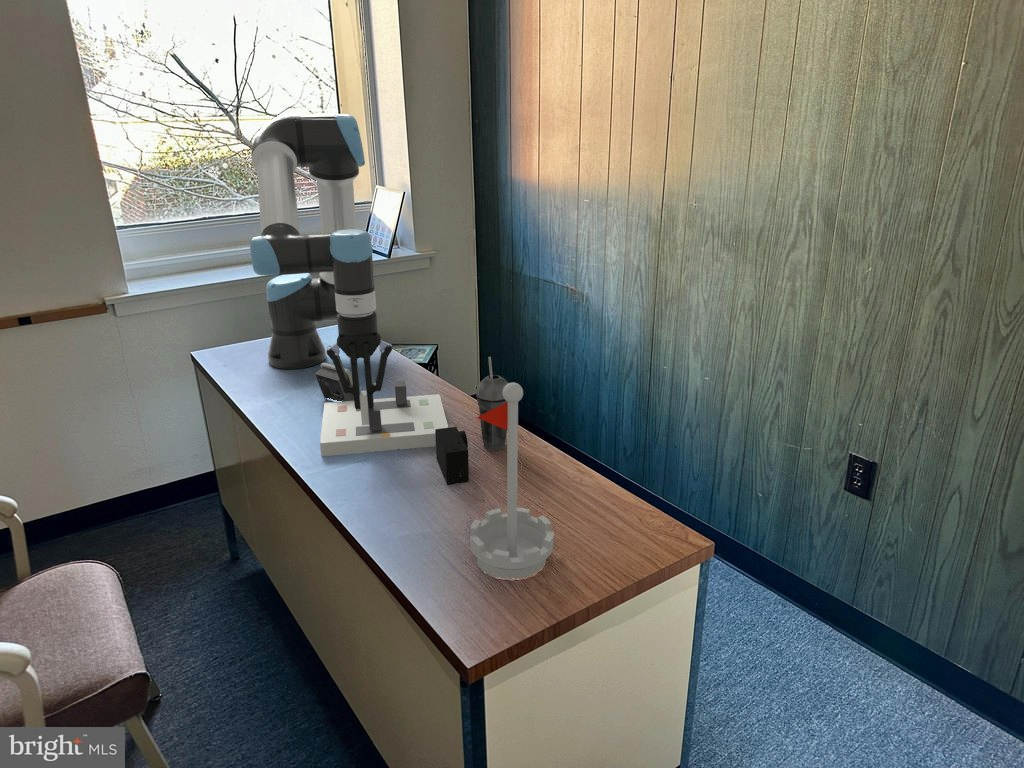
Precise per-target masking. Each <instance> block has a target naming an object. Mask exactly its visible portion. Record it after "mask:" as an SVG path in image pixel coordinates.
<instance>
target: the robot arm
mask: <svg viewBox="0 0 1024 768" xmlns="http://www.w3.org/2000/svg"><path fill="white" fill-rule="evenodd" d="M250 153H251V163H252V166H253V168H254V169H255V171H256V172H257V187H258V207H259V220H260V236H254V237H252V238H250V240H249V241H250V242H249V247H250V248H249V250H250V259H251V265H252V268H253V272H254V273H255V274H256V275H258V276H275V277H274V278H272V279H270V280H269V281H268V282H267V284H266V290H265V291H266V302H267V305H268V310H269V311H268V313H269V321H270V322H269V323H270V327H271V328H270V330H271V337H270V344H269V347H268V354H267V358H268V359H267V360H268V364H269V365H270V366H271V367H274V368H277V369H283V370H297V369H304V368H305V369H306V368H309V367H314V366H317V365H318V364H322V363H324V362H325V360H326V358H327V356H328V357H329V358H330V360H331V361H332V363H333V365H334V366H335V368H336V371H337V374H338V376H339V379H340V382H341V384H342V387H343V390H344V392H345V393H351V394H353V396H354V404H355V409H361V419H362V425H369V414H368V408H373V406H374V401H373V399H374V394H375V393H376V392H380V391H382V388H383V382H384V377H385V373H386V372H385V371H386V366H387V362H388V357H389V356H390V354H391V353H392V350H393V345H392V343H391V342H390V341H389V342H386V341H384V340H382V339H381V338H382V337H381V335H380V334H379V331H378V330H379V329H378V317H377V315H378V314H377V312H376V309H377V300H376V289H375V282H374V281H375V280H374V279H375V278H374V277H375V276H374V261H373V253H374V249H373V246H372V245H373V244H372V238H371V234H370V233H369V232H368V231H366V230H363V229H357V223H356V220H357V219H356V209H355V207H356V205H355V190H354V180H355V179H356V178H358V176H359V174H360V169H359V168H361V167H363V166H365V165H366V162H365V161H366V160H365V153H364V148H363V143H362V137H361V133H360V128H359V125H358V121H357V119H356V118H355V116H353V115H351V114H347V113H346V114H345V113H336V112H333V113H331V112H330V113H285V114H282V115H279V116H276V117H274V118H273V119H271V120H270V121H268V122H267V123H266V124H265V125H263V126H262V127H261V129H260V130H259V131H258V133H257V134H256V136H255V138H254V140H253V143H252V146H251V151H250ZM297 168H308V170H309V171H308V172H309V175H310V176H311V177H312V178H313V179H315V181H316V186H317V198H318V206H319V207H318V208H319V218H320V228H321V233H315V234H314V233H313V234H301V230H300V220H299V211H298V202H297V191H296V183H295V174H294V172H295V171H296V169H297ZM318 273H319V277H314V278H313V277H312V275H311V274H318ZM330 321H337V331H338V332H337V334H338V336H337V338H336V342H335V343H333V344H332V345H328V346H327V347H326V348H325V346H324V343H323V341H322V339H321V336H320V335H319V332H318V329H317V323H318V322H319V323H320V322H330ZM378 348H379V352H380V355H379V356H380V357H379V363H378V367H377V372H376V377H375V383H373V377H372V366H371V357H372V356H373V354H374V353H375V352H376V350H377V349H378ZM340 350H342V352H343V353H344V354H345V355H346V356H347V357H348V358H349V360H350V361H349V362H350V369H351V370H350V371H351V373H352V383H353V386H352V385H350V383H349V381H348V378H347V375H346V372H345V370H344V368H345V367H344V364H343V362H342V359H341V357H340ZM358 359H363V365H364V366H363V367H364V378H365V379H364V380H365V390H361V389H360V387H361V386H360V377H359V365H358Z"/></svg>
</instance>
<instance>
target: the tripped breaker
mask: <svg viewBox="0 0 1024 768" xmlns="http://www.w3.org/2000/svg"><path fill="white" fill-rule="evenodd" d="M368 414H369V426H370V431H377V430H382V426H381V413H380V404H377V405H374V406H373V408H368Z"/></svg>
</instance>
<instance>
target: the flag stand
mask: <svg viewBox="0 0 1024 768" xmlns="http://www.w3.org/2000/svg"><path fill="white" fill-rule="evenodd" d="M523 396H524V389H523V388H522V386H521V385H520V384H519V383H517V382H508V384H507V385H506V386H505V387H504V389H503V397H504V399H505V400H506V401H507V402H506V403H504V404H502V405H500V406H498V407H496V408H494V409H492V410H490V411H488V412H486V413H485V414H483V415H481V416H480V415H478V416H476V419H478V420H480V419H481V420H483V421H486V422H488V423H491V424H493V425H496V426H498V427H501V428H503V429H505V430H507V433H506V441H507V442H506V443H507V445H506V446H507V448H506V450H507V451H506V456H507V457H506V458H507V461H506V463H507V464H506V466H507V469H506V470H507V471H506V474H507V476H506V477H507V478H506V479H507V480H506V483H507V485H506V486H507V487H506V489H507V492H506V493H507V495H506V496H507V497H506V501H507V502H506V505H507V507H506V511H507V512H506V513H502V509H501V508H494V509H491V510H488V511H486V512H485V518H484V519H483V520H478V519H474V520H473V522H472V523H471V525H470V528H469V531H470V533H469V535H470V536H469V547H470V550H471V552H472V553H473V555H474V556H475V557H476V562H477V565H479V566H480V567H479V566H478V567H479V568H481V569H482V570H483V571H485V572H486V573H488V574H489V575H492V576H495V577H500V578H509V579H512V578H515V579H517V578H523V577H527V576H529V575H532V574H534V573H536V572H537V571H539V570H540V569H541V568H542V567H543V566H544V564H545V562H546V563H547V561H546V559H548V557H549V556H550V555H551V554H552V552H553V551H554V545H555V532H554V531H553V530H552V522H551V520H549V518H548V517H546V516H544V515H543V514H542V515H540V516H538V517H535V516H532V515H531V509H530V508H524V507H518V459H519V456H518V454H519V451H518V449H519V448H518V446H519V444H518V443H519V442H518V441H519V437H518V436H519V402H520V401H522V398H523ZM481 569H480V570H481ZM482 570H481V571H482ZM483 571H482V572H483ZM486 573H485V574H486ZM489 575H488V576H489Z"/></svg>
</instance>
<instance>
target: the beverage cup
mask: <svg viewBox="0 0 1024 768" xmlns="http://www.w3.org/2000/svg"><path fill="white" fill-rule="evenodd" d="M487 358H488V359H487V360H488V369H489V375H487V376H485V377H484V378H483V379H482V380H481V381H480V382H479V384H478V386H477V388H476V394H475V398H476V401H477V406H478V411H479V416H481V415H483V414H485V413H486V412H488V411H490V410H492V409H494V408H496V407H498V406H500V405H502V404H504V403H506V402H507V401H506V400H505V399H504V397H503V389H504V387H505V386H506V385H507V384H508V383H509V382H508V381H507V380H506V379H505V377H503V376H500V375H497V374H493V366H492V357H491V356H488V357H487ZM479 421H480V429H481V437H482V443H483V448H484V449H485V450H487V451H493V452H495V451H496V452H498V451H500V450H503V449H504V448H505V447H506V441H507V430H505V429H503V428H501V427H498V426H496V425H493V424H491V423H488V422H486V421H483V420H481V419H479Z"/></svg>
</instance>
